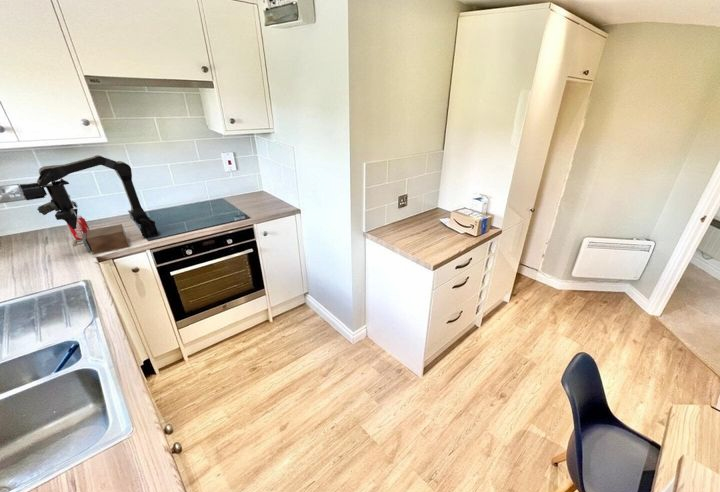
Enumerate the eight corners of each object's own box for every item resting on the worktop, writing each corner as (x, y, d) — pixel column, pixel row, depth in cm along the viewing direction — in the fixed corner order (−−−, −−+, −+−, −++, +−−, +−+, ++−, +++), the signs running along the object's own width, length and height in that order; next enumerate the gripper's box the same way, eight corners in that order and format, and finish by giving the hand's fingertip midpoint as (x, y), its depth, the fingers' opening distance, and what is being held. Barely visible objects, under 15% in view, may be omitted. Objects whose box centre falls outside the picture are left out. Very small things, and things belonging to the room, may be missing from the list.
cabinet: (93, 254, 155) (86, 238, 151) (94, 245, 163) (87, 230, 159) (129, 246, 163) (122, 231, 159) (127, 238, 171) (121, 224, 167)
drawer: (76, 255, 151) (69, 242, 148) (77, 247, 158) (71, 235, 155) (121, 246, 161) (116, 234, 158) (120, 239, 168) (115, 227, 165)
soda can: (96, 236, 172) (86, 215, 166) (81, 242, 166) (71, 220, 160) (86, 235, 173) (76, 214, 168) (71, 240, 167) (61, 219, 162)
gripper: (36, 193, 146) (53, 224, 153) (30, 204, 133) (48, 238, 140) (70, 189, 152) (84, 219, 159) (67, 199, 140) (82, 232, 147)
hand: (74, 227), depth 151 cm, fingers open, 5 cm apart
